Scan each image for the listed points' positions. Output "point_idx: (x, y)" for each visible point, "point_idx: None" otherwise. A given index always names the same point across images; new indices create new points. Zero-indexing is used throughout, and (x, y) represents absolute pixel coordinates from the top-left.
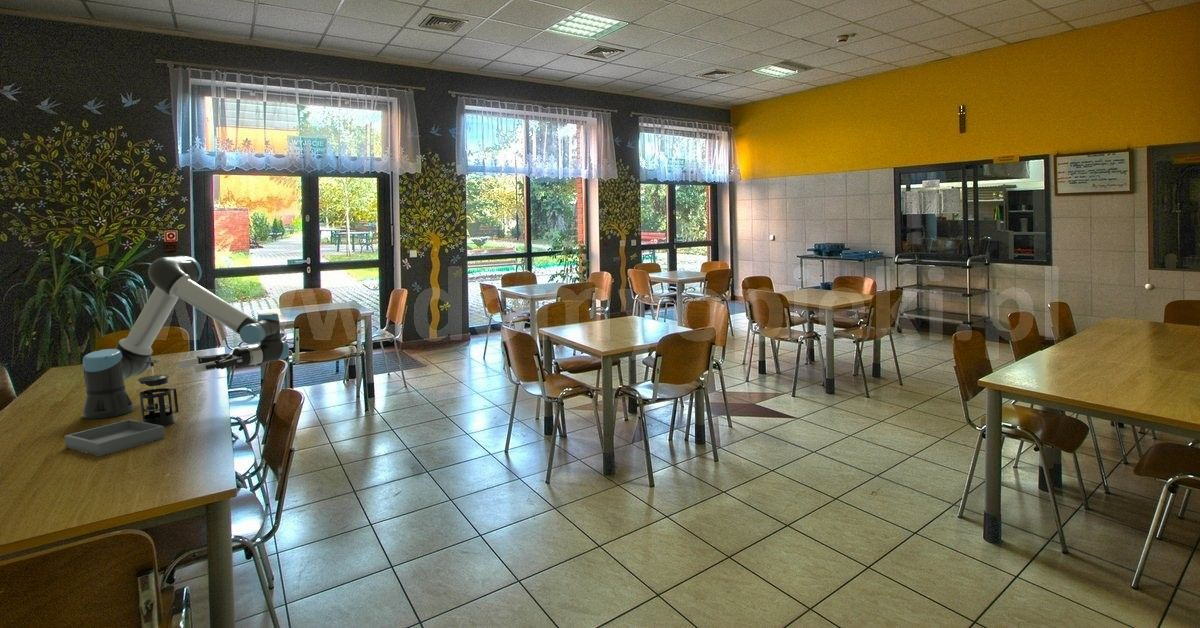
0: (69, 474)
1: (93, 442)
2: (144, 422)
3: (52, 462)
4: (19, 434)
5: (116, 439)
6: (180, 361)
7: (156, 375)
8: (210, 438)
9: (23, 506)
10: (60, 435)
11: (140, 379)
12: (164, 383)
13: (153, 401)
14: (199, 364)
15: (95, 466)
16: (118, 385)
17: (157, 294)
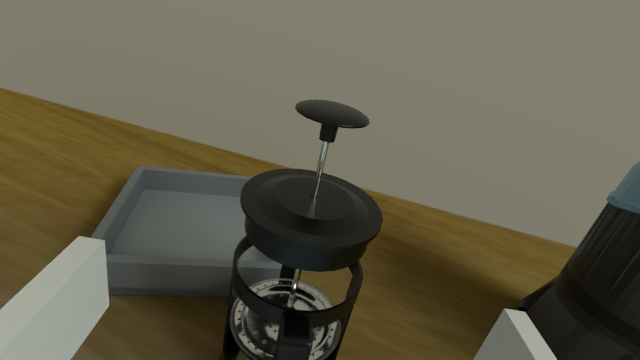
0: (104, 151)
1: (161, 168)
2: (199, 263)
3: (204, 169)
4: (454, 220)
5: (126, 184)
6: (509, 325)
7: (338, 213)
8: None
9: (54, 108)
10: (387, 233)
11: (329, 179)
12: (247, 233)
13: (345, 322)
14: (44, 268)
15: (89, 169)
16: (609, 300)
17: None
